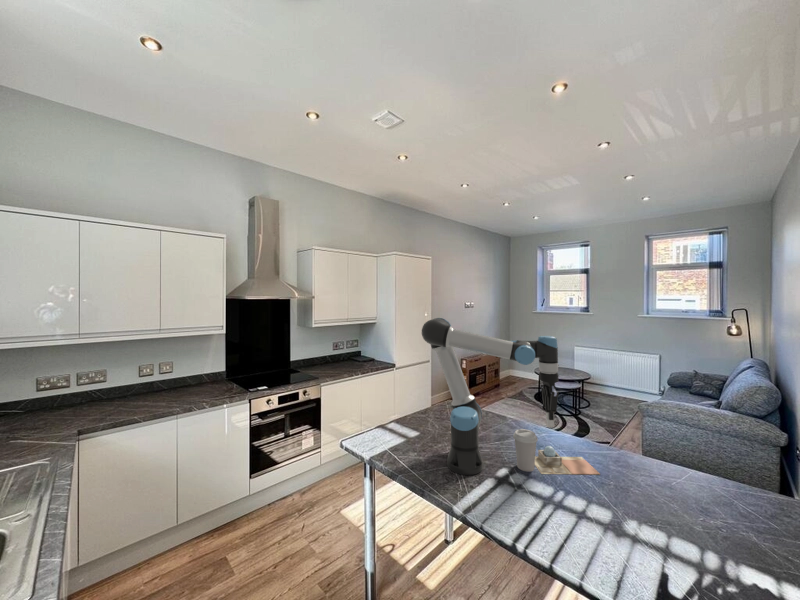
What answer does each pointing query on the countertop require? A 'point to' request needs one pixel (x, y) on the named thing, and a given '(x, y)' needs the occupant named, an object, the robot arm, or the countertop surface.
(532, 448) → the coffee cup
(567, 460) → the board
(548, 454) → the dome
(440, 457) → the countertop surface
